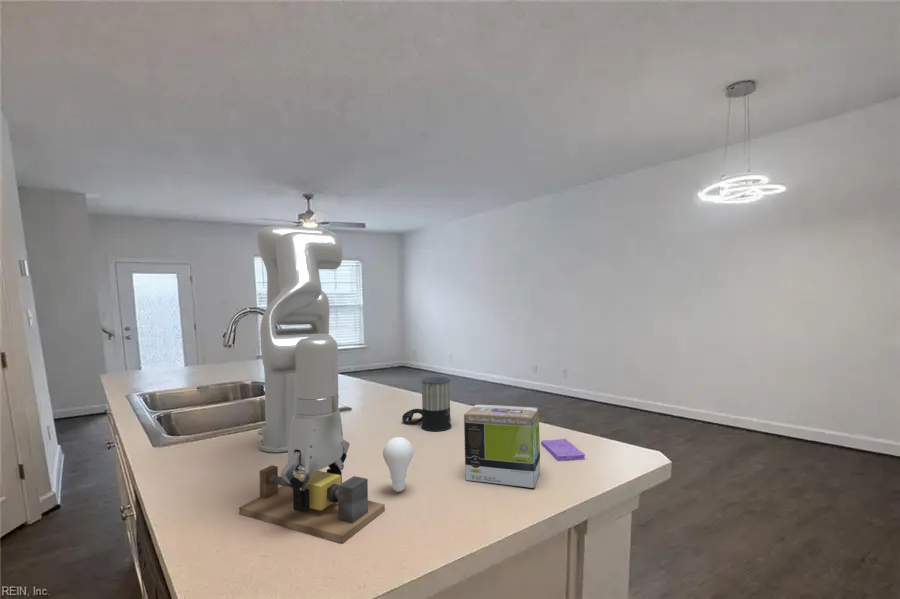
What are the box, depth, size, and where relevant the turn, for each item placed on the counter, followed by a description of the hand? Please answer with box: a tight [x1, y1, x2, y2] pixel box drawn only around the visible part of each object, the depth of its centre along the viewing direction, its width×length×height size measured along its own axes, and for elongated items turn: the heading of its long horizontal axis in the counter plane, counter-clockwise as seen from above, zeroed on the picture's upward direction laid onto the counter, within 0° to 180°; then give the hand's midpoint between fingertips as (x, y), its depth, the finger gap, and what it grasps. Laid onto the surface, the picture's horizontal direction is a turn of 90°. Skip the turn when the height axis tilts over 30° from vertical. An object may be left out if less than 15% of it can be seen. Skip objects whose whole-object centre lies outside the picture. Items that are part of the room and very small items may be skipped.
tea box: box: [463, 403, 541, 489], centre depth 97 cm, size 15×10×15 cm, turn 71°
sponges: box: [540, 438, 586, 462], centre depth 112 cm, size 7×13×2 cm, turn 7°
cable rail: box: [238, 464, 386, 544], centre depth 81 cm, size 24×12×7 cm, turn 65°
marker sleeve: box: [299, 470, 341, 510], centre depth 81 cm, size 6×5×4 cm
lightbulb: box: [382, 436, 414, 493], centre depth 90 cm, size 6×6×11 cm
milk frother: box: [401, 376, 452, 432], centre depth 137 cm, size 14×16×15 cm
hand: (318, 500), depth 81 cm, fingers open, 8 cm apart
